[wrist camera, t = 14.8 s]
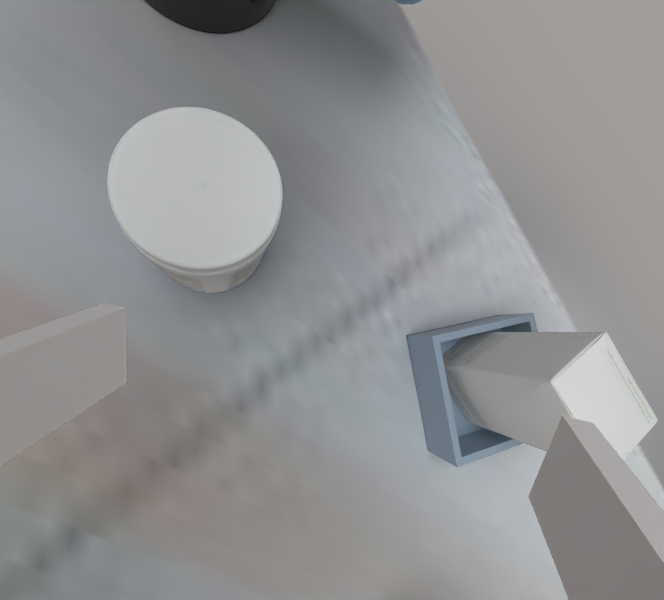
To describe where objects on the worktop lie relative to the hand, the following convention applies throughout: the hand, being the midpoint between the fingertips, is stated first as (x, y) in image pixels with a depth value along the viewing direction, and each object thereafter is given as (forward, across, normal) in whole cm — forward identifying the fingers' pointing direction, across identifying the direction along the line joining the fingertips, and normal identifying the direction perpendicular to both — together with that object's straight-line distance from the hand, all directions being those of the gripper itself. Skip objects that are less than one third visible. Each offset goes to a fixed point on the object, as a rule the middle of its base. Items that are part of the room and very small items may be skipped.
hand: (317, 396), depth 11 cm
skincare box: (+29, +12, -12) cm, 34 cm away
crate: (+30, +12, -12) cm, 34 cm away
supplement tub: (+22, -16, -1) cm, 27 cm away
